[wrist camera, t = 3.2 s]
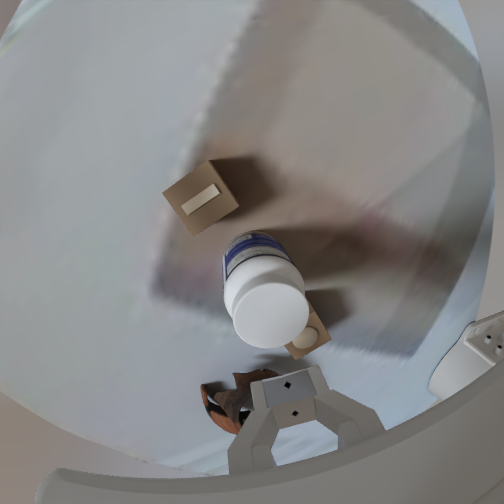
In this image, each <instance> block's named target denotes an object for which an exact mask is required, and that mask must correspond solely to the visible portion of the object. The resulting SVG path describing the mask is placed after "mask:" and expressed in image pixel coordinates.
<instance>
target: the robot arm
mask: <svg viewBox="0 0 504 504" xmlns="http://www.w3.org/2000/svg"><path fill="white" fill-rule="evenodd" d="M250 386H251V392H252V399H253V405H254V411H251V413H250V414H249V416H248V418H247V419H246V421H245V423H244V424H243V426H242V428H241V429H240V431H239V433H238V434H237V436H236V437H235V439H234V441H233V442H232V444H231V445H230V447H229V449H228V450H227V451H228V464H229V475H220V476H209V477H197V478H170V479H169V478H134V477H120V476H110V475H102V474H94V473H88V472H82V471H76V470H71V469H66V468H57V469H55V470H54V471H52V472H51V473H50V474H49V475H48V476H46V477H45V478H44V479H43V480H42V481H41V482H40V484H39V486H38V488H37V492H36V496H35V501H34V504H504V311H501V312H499V313H497V314H494V315H492V316H489V317H486V318H484V319H481V320H479V321H476V322H473V323H471V324H469V325H468V326H467V328H466V329H465V331H464V332H463V334H462V335H461V337H460V339H459V340H458V342H457V343H456V344H455V345H454V346H453V347H452V348H451V350H450V351H449V352H448V353H447V354H446V355H445V357H444V358H443V359H442V360H441V362H440V363H439V365H438V366H437V368H436V369H435V371H434V373H433V375H432V377H431V379H430V382H429V392H430V393H431V394H432V395H434V396H436V397H437V398H439V399H440V400H441V401H442V402H440V403H439V404H437V405H435V406H434V407H432V408H430V409H428V410H426V411H425V412H423V413H421V414H419V415H417V416H415V417H413V418H411V419H410V420H408V421H406V422H404V423H401V424H399V425H397V426H395V427H393V428H391V429H389V430H387V431H386V430H385V428H384V426H383V424H382V423H381V421H380V419H379V417H378V415H377V414H376V412H375V410H373V409H371V408H369V407H367V406H365V405H363V404H361V403H359V402H357V401H355V400H353V399H351V398H349V397H347V396H345V395H343V394H341V393H339V392H337V391H335V390H330V389H329V387H328V385H327V383H326V381H325V378H324V376H323V374H322V372H321V370H320V367H319V366H318V365H316V366H313V367H309V368H307V369H302V370H299V371H296V372H292V373H289V374H285V375H282V376H278V377H273V378H269V379H264V380H260V381H256V382H251V384H250ZM316 419H317V421H318V422H320V423H321V424H323V425H324V426H325V427H327V428H328V429H330V430H331V431H332V432H334V433H335V434H337V435H338V450H335V451H332V452H329V453H326V454H323V455H319V456H316V457H312V458H309V459H305V460H301V461H298V462H294V463H290V464H285V465H281V466H277V465H276V462H275V460H274V458H273V455H272V453H271V448H272V446H273V443H274V441H275V439H276V436H277V434H278V431H279V429H283V428H286V427H290V426H293V425H297V424H301V423H305V422H309V421H312V420H316Z"/></svg>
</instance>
